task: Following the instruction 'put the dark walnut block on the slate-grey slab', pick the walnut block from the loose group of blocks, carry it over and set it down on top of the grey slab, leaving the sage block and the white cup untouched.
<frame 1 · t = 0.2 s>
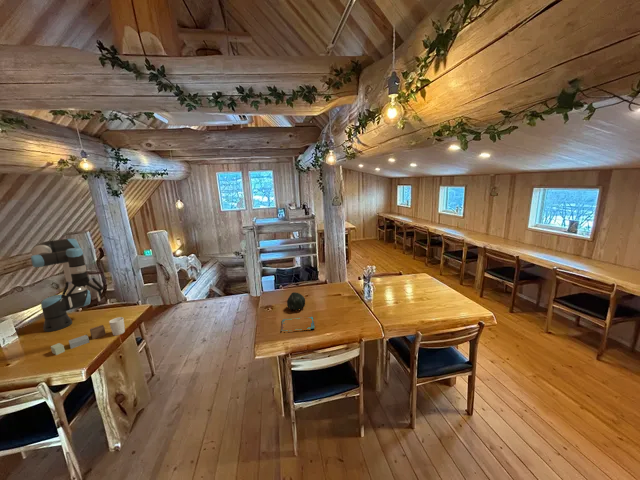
hand: (85, 303, 166), 27 cm above the table, fingers open, 13 cm apart
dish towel: (298, 326, 181), on the table
squash: (296, 308, 207), on the table
sage block: (58, 352, 159), on the table
walnut block: (98, 336, 177), on the table
white cup: (119, 333, 180), on the table
grey slab: (79, 344, 168), on the table
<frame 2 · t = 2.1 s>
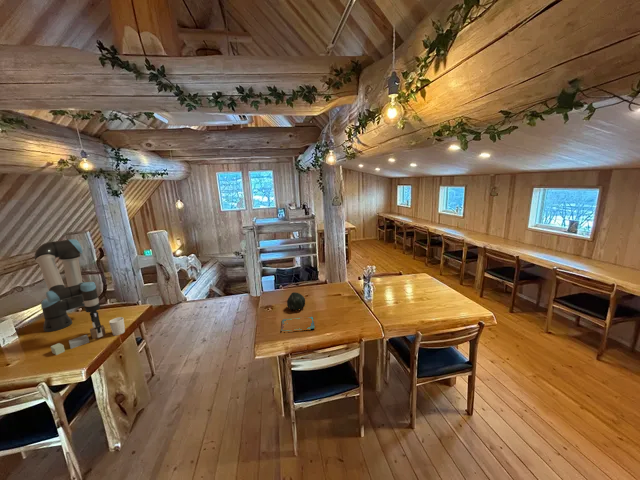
hand: (98, 333, 176), 2 cm above the table, fingers open, 13 cm apart
nothing on the table moved.
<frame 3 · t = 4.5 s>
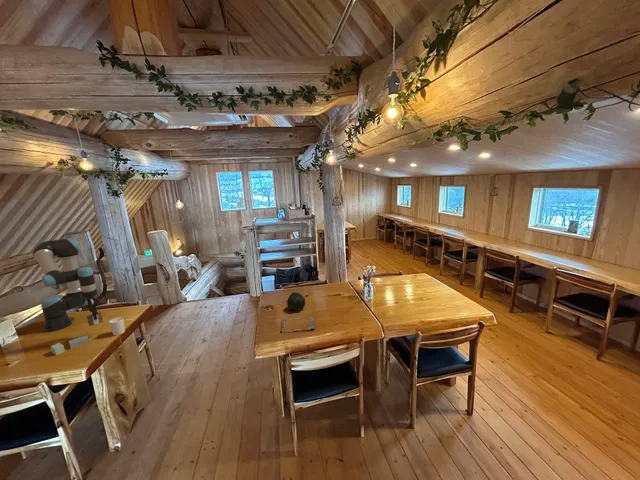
hand: (95, 322, 175), 10 cm above the table, fingers closed on walnut block, 5 cm apart
walnut block: (95, 322, 175), point 10 cm above the table, touching gripper
everything else where it was.
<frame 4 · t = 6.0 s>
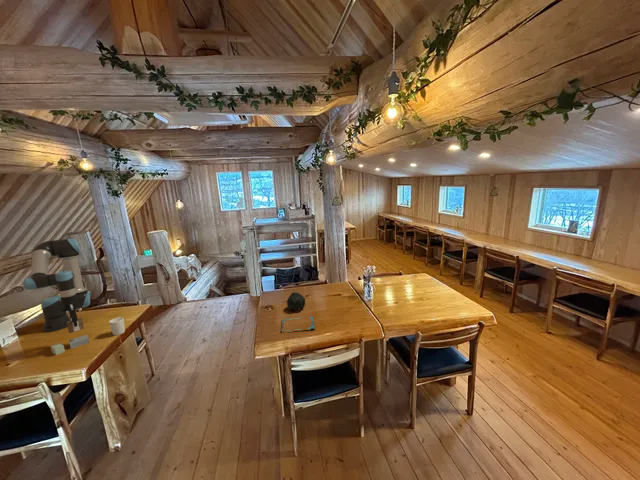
hand: (76, 328, 166), 11 cm above the table, fingers closed on walnut block, 5 cm apart
walnut block: (76, 329, 166), point 10 cm above the table, touching gripper
everything else where it was.
when the fingers open (4 cm above the table, at t = 7.7 s): walnut block stays where it is, resting on grey slab.
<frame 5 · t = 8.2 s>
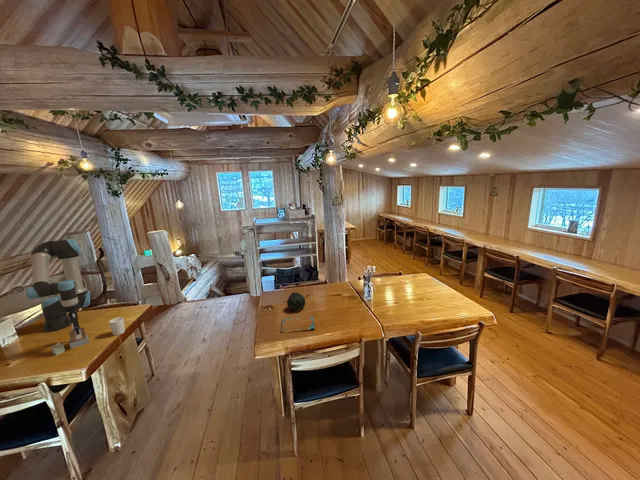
hand: (77, 335, 167), 6 cm above the table, fingers open, 13 cm apart
walnut block: (78, 339, 168), point 3 cm above the table, touching grey slab
grey slab: (79, 344, 168), on the table, touching walnut block
everything else where it was.
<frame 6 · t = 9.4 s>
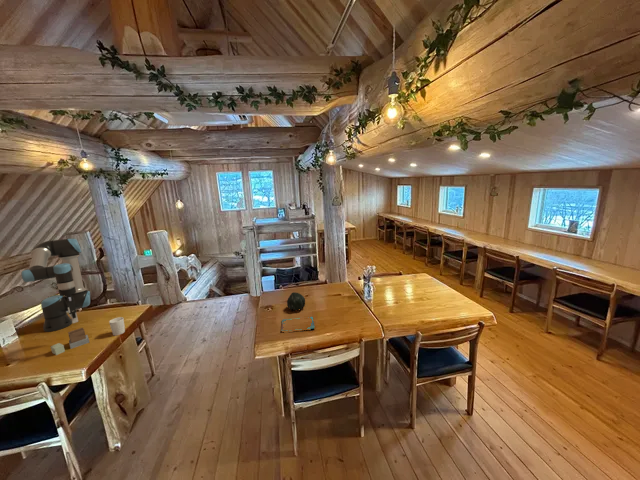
hand: (74, 319, 165), 17 cm above the table, fingers open, 13 cm apart
walnut block: (78, 339, 167), point 3 cm above the table
grey slab: (79, 344, 168), on the table
everything else where it was.
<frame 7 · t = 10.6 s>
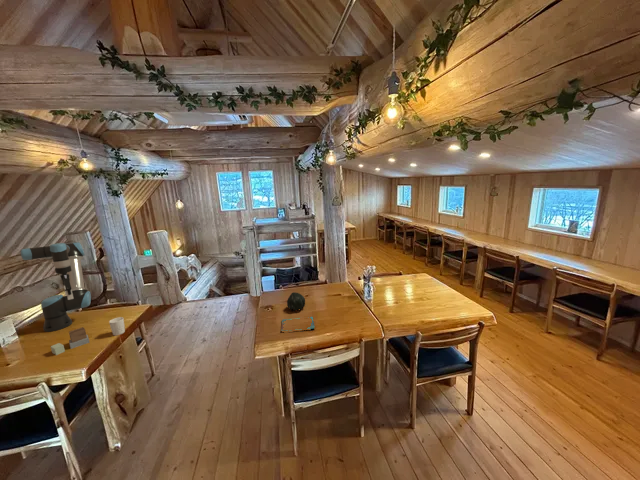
hand: (69, 296, 173), 29 cm above the table, fingers open, 13 cm apart
nothing on the table moved.
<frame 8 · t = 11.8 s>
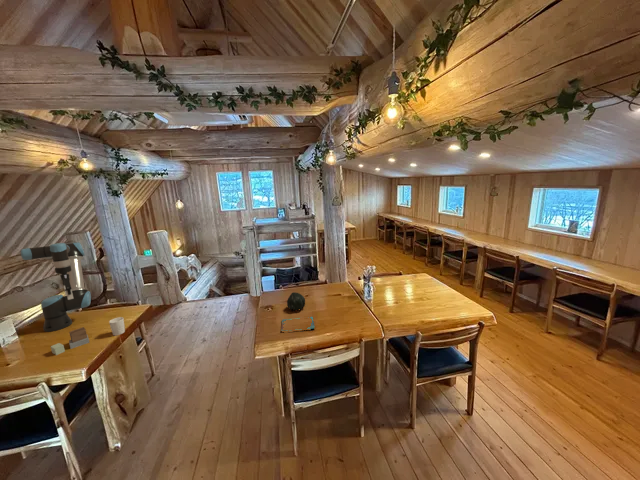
hand: (69, 296, 173), 29 cm above the table, fingers open, 13 cm apart
walnut block: (79, 338, 168), point 3 cm above the table, touching grey slab
grey slab: (79, 344, 168), on the table, touching walnut block
everything else where it was.
at the end: walnut block inside the target area on the grey slab (0.5 cm from its centre), point 3.5 cm above the grey slab's base; sage block moved 0.2 cm from its start; white cup moved 0.2 cm from its start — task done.
